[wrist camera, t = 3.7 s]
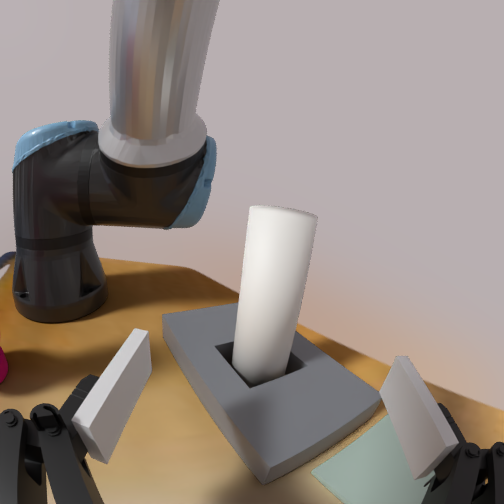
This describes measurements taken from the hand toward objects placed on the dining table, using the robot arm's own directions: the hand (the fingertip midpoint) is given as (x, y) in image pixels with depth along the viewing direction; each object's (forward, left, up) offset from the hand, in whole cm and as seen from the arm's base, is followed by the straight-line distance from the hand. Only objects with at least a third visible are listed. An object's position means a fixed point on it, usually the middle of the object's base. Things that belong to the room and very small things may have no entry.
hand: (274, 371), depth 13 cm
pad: (+9, +9, -9) cm, 16 cm away
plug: (-8, +5, -9) cm, 13 cm away
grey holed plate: (-8, +5, -9) cm, 13 cm away
